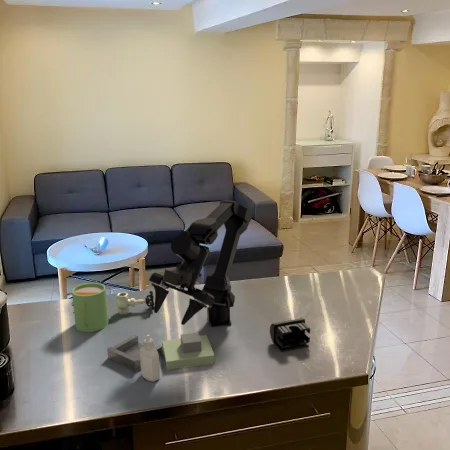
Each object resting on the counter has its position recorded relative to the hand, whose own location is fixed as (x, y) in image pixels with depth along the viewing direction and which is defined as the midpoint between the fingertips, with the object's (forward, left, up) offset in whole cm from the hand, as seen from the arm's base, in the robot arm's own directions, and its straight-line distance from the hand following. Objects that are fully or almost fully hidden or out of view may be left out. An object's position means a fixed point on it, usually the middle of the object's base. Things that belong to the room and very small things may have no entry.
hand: (168, 318), depth 131 cm
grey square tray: (+9, -4, -12) cm, 16 cm away
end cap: (-35, 0, -13) cm, 37 cm away
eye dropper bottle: (+6, +7, -13) cm, 16 cm away
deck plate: (-5, -1, -12) cm, 13 cm away
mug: (+22, -25, -13) cm, 36 cm away
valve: (+8, -32, -13) cm, 36 cm away
